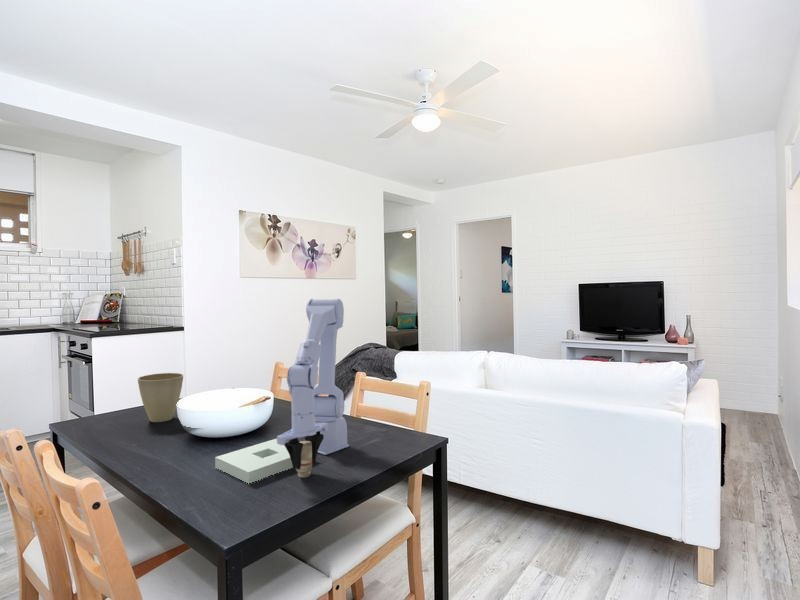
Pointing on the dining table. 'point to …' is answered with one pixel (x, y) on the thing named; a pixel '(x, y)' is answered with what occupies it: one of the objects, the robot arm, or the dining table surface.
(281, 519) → the dining table surface
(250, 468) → the board
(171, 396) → the plant pot
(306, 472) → the peg
